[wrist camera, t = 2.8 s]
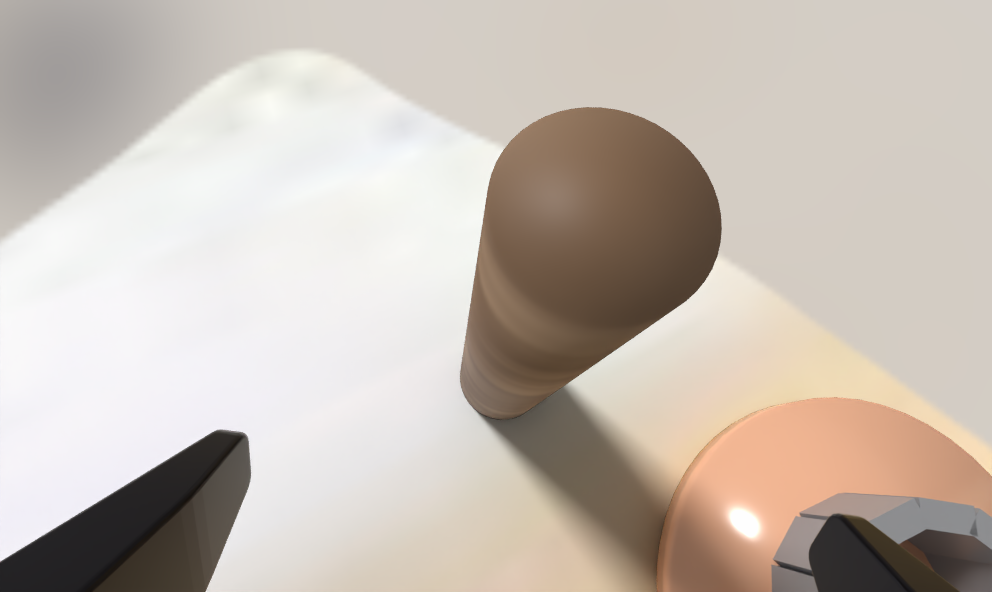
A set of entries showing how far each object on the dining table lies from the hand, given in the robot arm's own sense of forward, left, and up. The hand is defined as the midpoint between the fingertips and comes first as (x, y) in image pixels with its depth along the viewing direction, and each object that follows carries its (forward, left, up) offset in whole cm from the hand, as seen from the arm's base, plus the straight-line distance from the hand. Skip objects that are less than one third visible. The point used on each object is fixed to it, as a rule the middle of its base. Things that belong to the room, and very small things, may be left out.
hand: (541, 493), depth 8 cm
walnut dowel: (+3, -2, -10) cm, 11 cm away
